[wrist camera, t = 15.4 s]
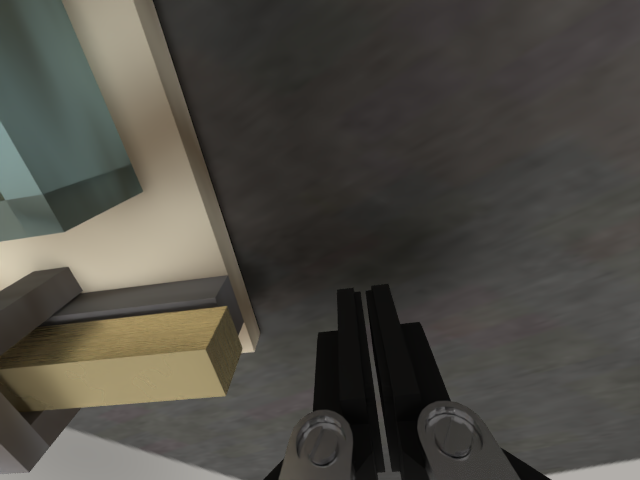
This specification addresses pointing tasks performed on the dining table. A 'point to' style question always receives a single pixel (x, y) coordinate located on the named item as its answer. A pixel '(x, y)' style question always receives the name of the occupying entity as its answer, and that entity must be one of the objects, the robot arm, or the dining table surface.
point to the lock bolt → (122, 361)
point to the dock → (99, 188)
